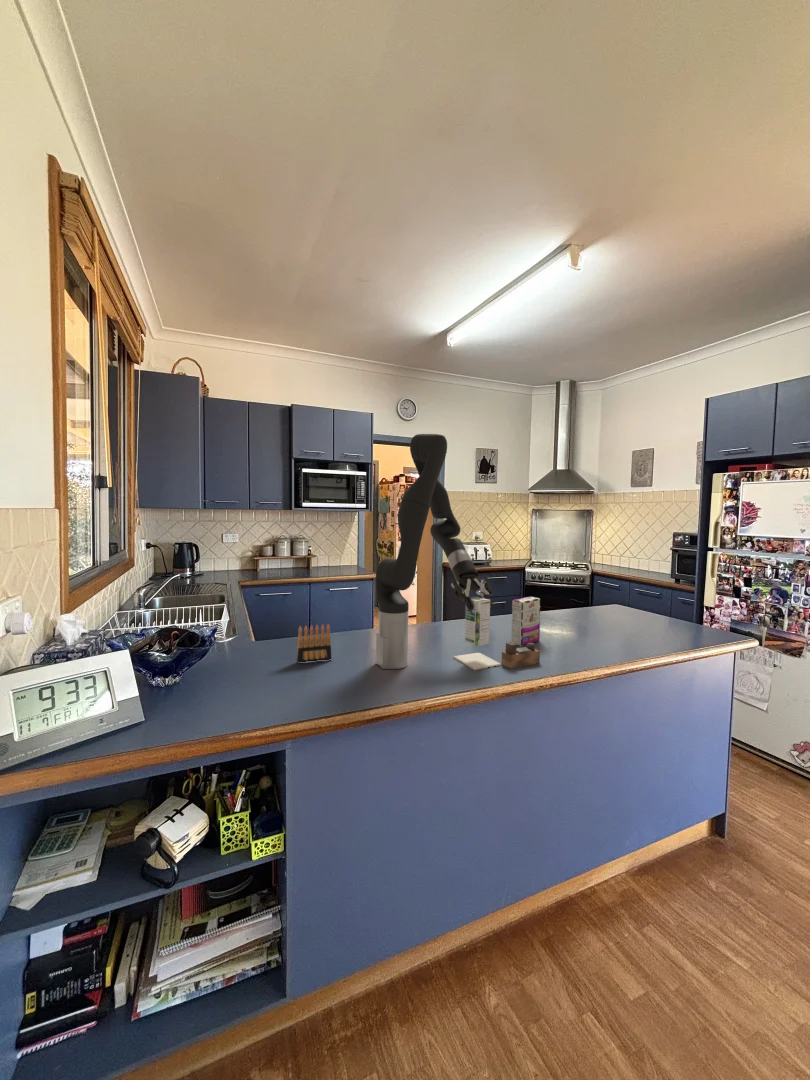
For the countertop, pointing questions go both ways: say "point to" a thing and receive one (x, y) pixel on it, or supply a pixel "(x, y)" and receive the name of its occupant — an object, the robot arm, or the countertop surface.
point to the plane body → (520, 655)
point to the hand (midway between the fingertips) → (481, 607)
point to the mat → (477, 661)
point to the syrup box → (478, 622)
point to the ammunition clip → (314, 644)
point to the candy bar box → (525, 620)
